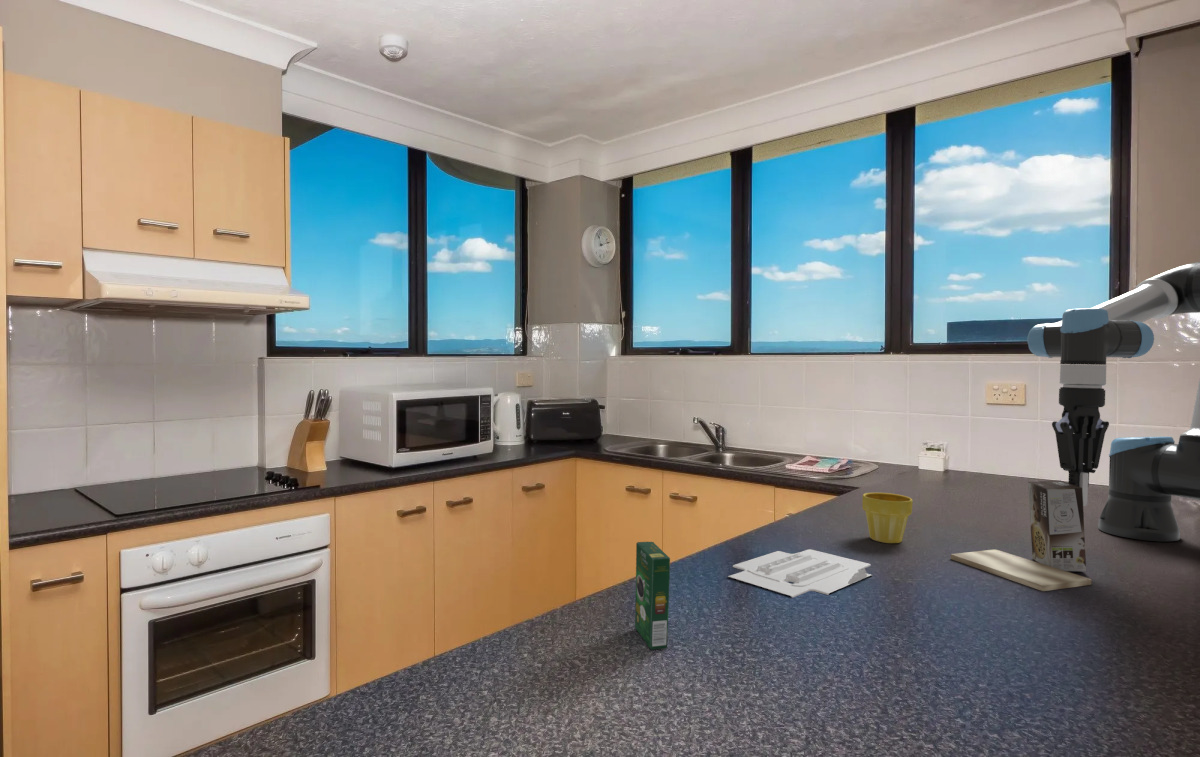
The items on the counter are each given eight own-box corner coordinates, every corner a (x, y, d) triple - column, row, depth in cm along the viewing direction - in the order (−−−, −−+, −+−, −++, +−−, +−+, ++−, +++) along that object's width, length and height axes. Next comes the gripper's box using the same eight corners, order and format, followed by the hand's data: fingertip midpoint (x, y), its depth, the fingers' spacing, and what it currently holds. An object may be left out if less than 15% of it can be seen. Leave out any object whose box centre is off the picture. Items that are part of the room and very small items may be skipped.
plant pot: (902, 534, 158) (903, 492, 157) (918, 546, 147) (919, 502, 147) (856, 532, 159) (857, 491, 158) (869, 545, 148) (870, 500, 148)
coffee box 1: (670, 649, 94) (671, 556, 94) (650, 651, 93) (651, 557, 93) (652, 627, 102) (653, 540, 101) (634, 628, 101) (635, 541, 101)
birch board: (995, 554, 142) (995, 549, 142) (1091, 584, 124) (1091, 579, 123) (950, 558, 139) (950, 554, 138) (1042, 591, 120) (1043, 585, 120)
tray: (712, 576, 128) (713, 557, 128) (793, 554, 146) (794, 537, 146) (810, 607, 112) (811, 585, 112) (887, 578, 131) (888, 559, 131)
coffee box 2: (1088, 572, 129) (1084, 487, 129) (1050, 572, 131) (1046, 488, 130) (1065, 558, 138) (1061, 479, 138) (1030, 558, 140) (1026, 480, 139)
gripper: (1086, 385, 141) (1082, 498, 141) (1040, 385, 136) (1036, 502, 137) (1124, 387, 134) (1120, 506, 134) (1077, 387, 129) (1072, 510, 130)
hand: (1077, 504), depth 136 cm, fingers closed
